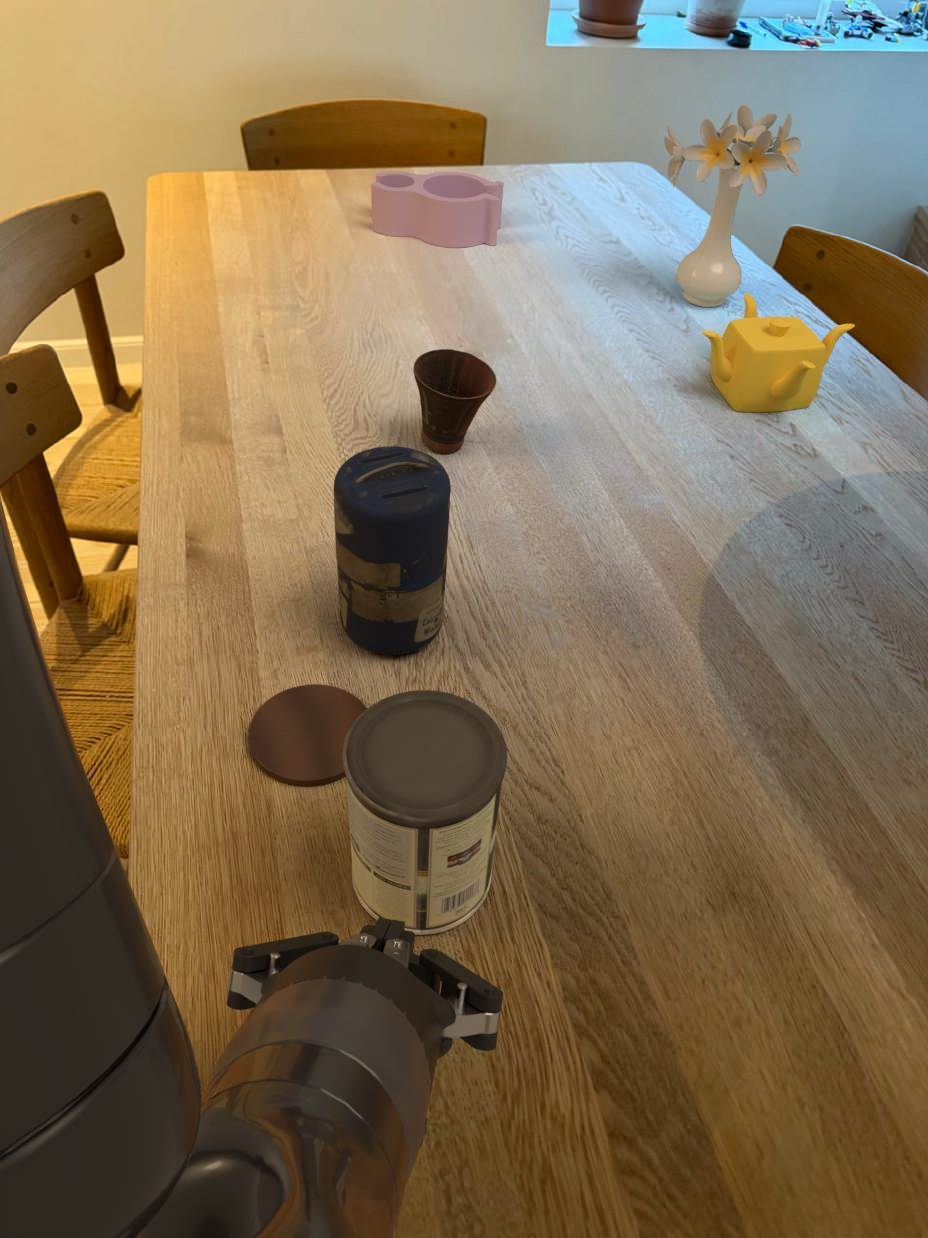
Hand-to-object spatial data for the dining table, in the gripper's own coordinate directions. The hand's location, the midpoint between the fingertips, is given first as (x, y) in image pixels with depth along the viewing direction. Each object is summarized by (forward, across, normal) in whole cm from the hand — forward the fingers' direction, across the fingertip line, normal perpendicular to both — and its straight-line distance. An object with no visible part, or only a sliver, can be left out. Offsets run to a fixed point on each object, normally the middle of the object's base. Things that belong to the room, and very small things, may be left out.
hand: (389, 937), depth 52 cm
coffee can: (+18, 0, +1) cm, 18 cm away
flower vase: (+88, -24, -70) cm, 115 cm away
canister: (+35, +7, -16) cm, 40 cm away
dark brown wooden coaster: (+26, +11, -7) cm, 29 cm away
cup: (+56, +6, -38) cm, 68 cm away
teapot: (+70, -31, -52) cm, 93 cm away
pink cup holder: (+99, +17, -80) cm, 128 cm away
